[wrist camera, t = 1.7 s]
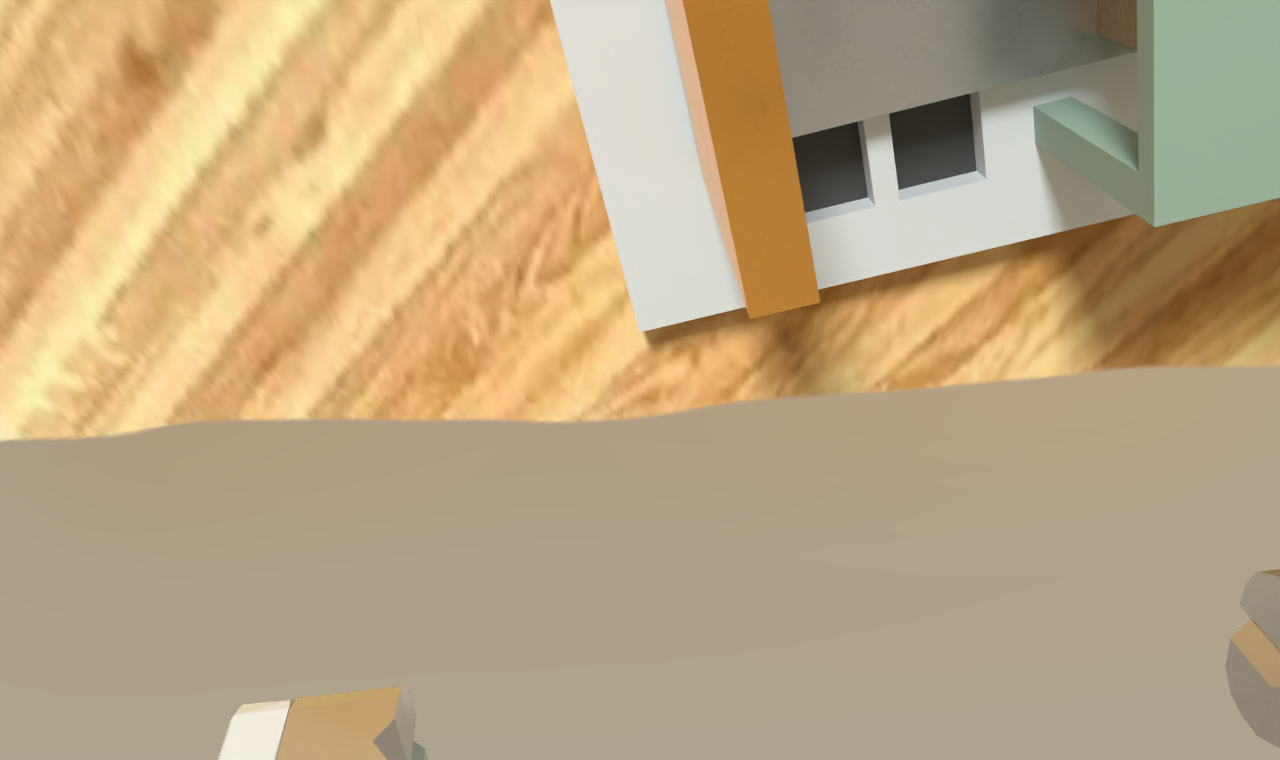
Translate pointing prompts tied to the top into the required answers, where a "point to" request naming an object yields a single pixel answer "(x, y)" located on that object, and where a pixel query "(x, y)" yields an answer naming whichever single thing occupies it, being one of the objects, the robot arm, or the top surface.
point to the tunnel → (1185, 114)
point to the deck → (821, 168)
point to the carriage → (846, 95)
